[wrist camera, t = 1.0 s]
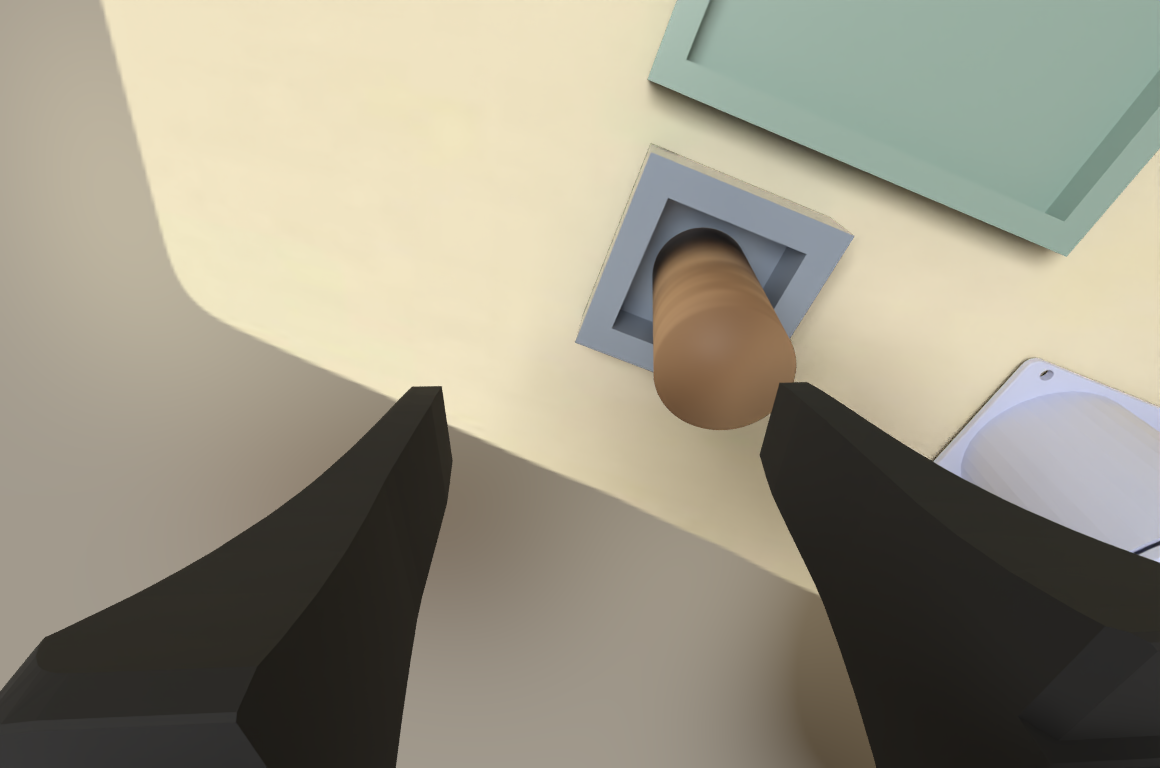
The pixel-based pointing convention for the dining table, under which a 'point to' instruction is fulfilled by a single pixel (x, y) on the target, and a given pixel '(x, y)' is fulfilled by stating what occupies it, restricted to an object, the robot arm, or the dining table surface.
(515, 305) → the dining table surface
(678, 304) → the dowel
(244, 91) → the dining table surface
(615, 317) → the grey square recessed block
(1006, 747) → the robot arm
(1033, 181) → the tray
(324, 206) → the dining table surface
